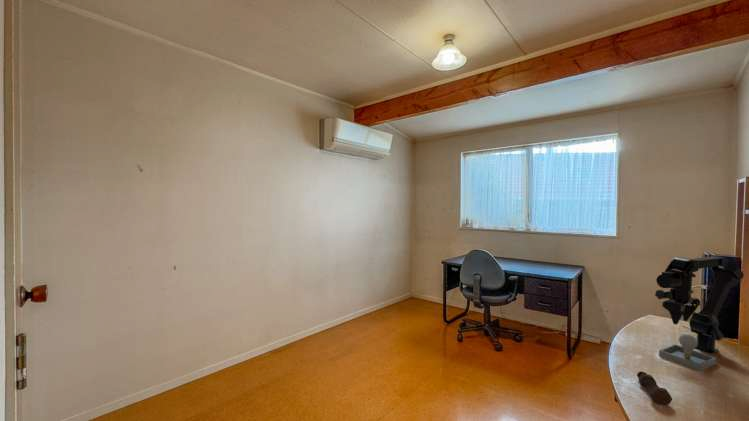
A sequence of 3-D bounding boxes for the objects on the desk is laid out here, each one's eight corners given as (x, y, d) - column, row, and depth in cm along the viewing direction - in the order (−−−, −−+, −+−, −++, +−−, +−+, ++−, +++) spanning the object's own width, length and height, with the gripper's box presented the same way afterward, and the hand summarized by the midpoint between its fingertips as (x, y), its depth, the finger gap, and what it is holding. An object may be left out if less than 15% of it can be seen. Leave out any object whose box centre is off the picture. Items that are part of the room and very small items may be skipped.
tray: (674, 349, 141) (674, 344, 141) (716, 363, 129) (716, 357, 129) (658, 355, 135) (659, 350, 135) (701, 371, 124) (701, 365, 123)
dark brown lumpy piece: (644, 385, 117) (664, 409, 103) (629, 376, 119) (647, 398, 105) (654, 373, 116) (676, 396, 102) (639, 364, 118) (659, 385, 104)
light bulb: (693, 362, 129) (694, 338, 128) (675, 356, 134) (676, 333, 133) (699, 359, 131) (700, 336, 131) (681, 354, 136) (682, 331, 136)
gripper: (669, 280, 149) (667, 312, 150) (648, 284, 141) (646, 319, 142) (701, 286, 139) (699, 321, 140) (681, 291, 131) (679, 328, 132)
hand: (680, 322), depth 139 cm, fingers open, 9 cm apart
